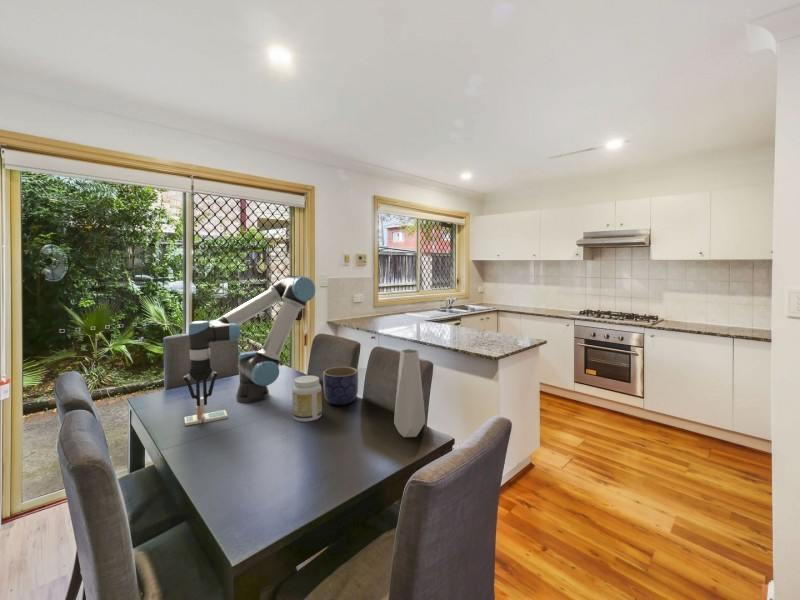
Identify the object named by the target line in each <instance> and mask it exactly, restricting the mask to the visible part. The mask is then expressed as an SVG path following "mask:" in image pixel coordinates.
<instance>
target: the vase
mask: <svg viewBox="0 0 800 600" xmlns="http://www.w3.org/2000/svg"><path fill="white" fill-rule="evenodd" d="M420 366H421V364H420V355H419V350H417V349H410V348H408V349H401V350H400V353H399V363H398V372H397V373H398V374H397V382H396V383H397V384H396V393H395V394H396V395H395V406H394V415H393V416H394V419H393V424H394V425H395V428H396V429H397V432H398V433H399V434H400V435H401V436H402V438H416V437H418V435H419V434H420V432H421V431H422V428H423V427H424V425H425V423H426V412H425V404H424V393H423V384H422V375H421V367H420Z"/></svg>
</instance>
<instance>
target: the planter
mask: <svg viewBox="0 0 800 600" xmlns="http://www.w3.org/2000/svg"><path fill="white" fill-rule="evenodd" d="M322 381H323V382H322V383H323V384H322V385H323V394H324V398H325V400H326V401H327V402H328V403H330V404H331V405H335V406H344V405H348V404H350V403H353V402H354V401H355V399H356V398H357V396H358V392H359V371H358V369H357V368H355V367H351V366H350V367H349V366H336V367H335V366H334V367H329V368H327V369H325V370H324V371H323V373H322Z"/></svg>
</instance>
